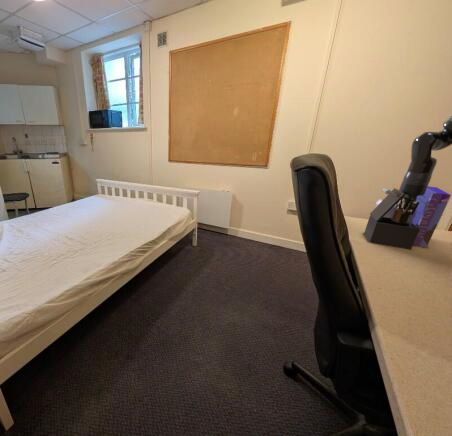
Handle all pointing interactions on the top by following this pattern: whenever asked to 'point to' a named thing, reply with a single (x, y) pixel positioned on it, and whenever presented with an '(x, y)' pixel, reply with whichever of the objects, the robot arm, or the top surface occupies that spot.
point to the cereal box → (428, 214)
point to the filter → (398, 215)
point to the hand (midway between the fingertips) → (399, 220)
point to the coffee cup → (391, 212)
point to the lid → (387, 203)
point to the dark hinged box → (391, 232)
